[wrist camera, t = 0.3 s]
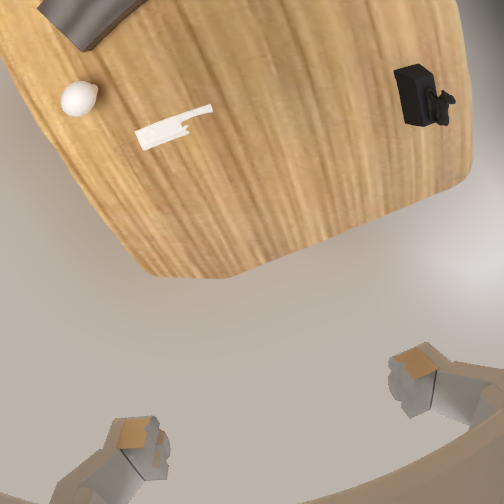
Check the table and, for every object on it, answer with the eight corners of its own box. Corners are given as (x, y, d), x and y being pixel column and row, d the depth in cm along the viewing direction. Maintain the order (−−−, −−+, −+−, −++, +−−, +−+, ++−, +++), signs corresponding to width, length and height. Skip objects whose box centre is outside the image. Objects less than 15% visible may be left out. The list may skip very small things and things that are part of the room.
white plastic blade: (218, 126, 55) (218, 128, 54) (144, 151, 55) (144, 154, 55) (210, 102, 51) (210, 104, 51) (135, 129, 52) (134, 131, 51)
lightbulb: (72, 93, 44) (48, 108, 36) (91, 67, 42) (69, 76, 34) (95, 110, 47) (75, 128, 39) (115, 85, 45) (97, 98, 37)
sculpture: (420, 62, 49) (467, 79, 37) (428, 116, 57) (471, 141, 46) (392, 69, 50) (438, 85, 38) (402, 124, 58) (444, 151, 47)
